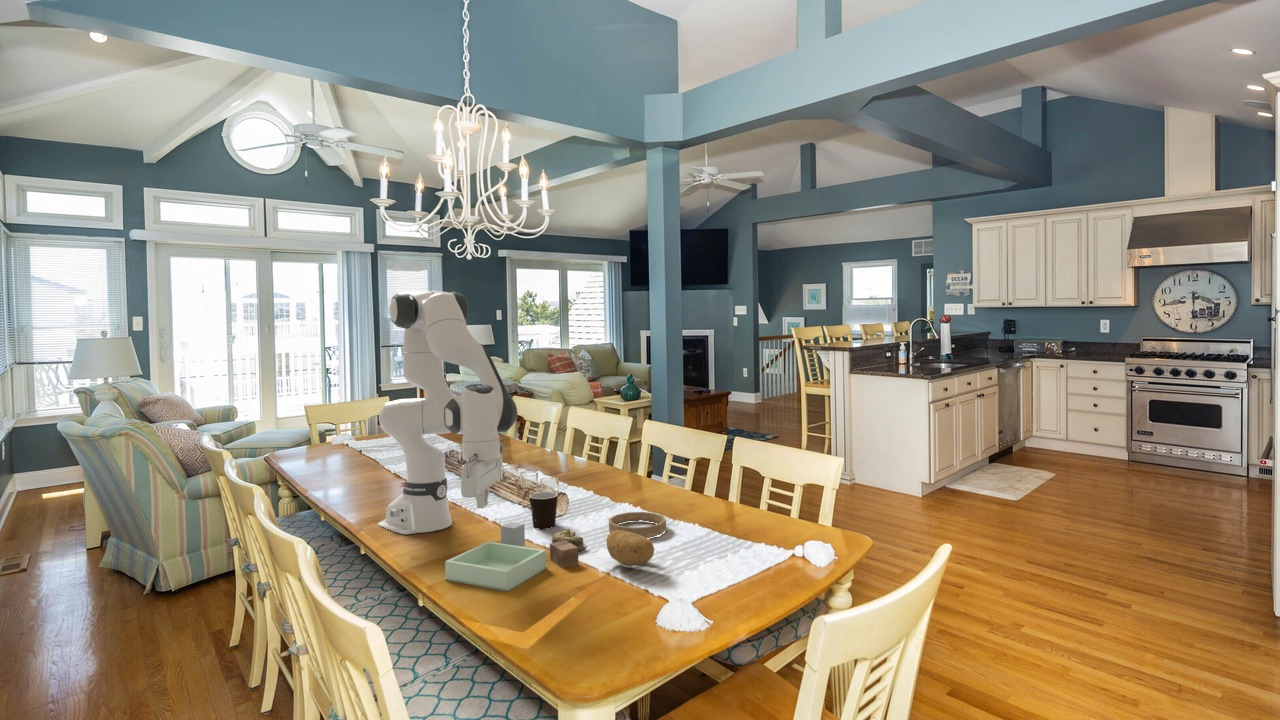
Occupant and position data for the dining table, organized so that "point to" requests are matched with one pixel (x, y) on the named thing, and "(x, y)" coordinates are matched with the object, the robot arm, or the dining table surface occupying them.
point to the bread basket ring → (637, 516)
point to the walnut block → (564, 554)
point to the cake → (569, 539)
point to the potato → (629, 548)
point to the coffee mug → (543, 509)
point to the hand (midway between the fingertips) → (482, 507)
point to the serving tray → (496, 566)
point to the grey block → (513, 534)
